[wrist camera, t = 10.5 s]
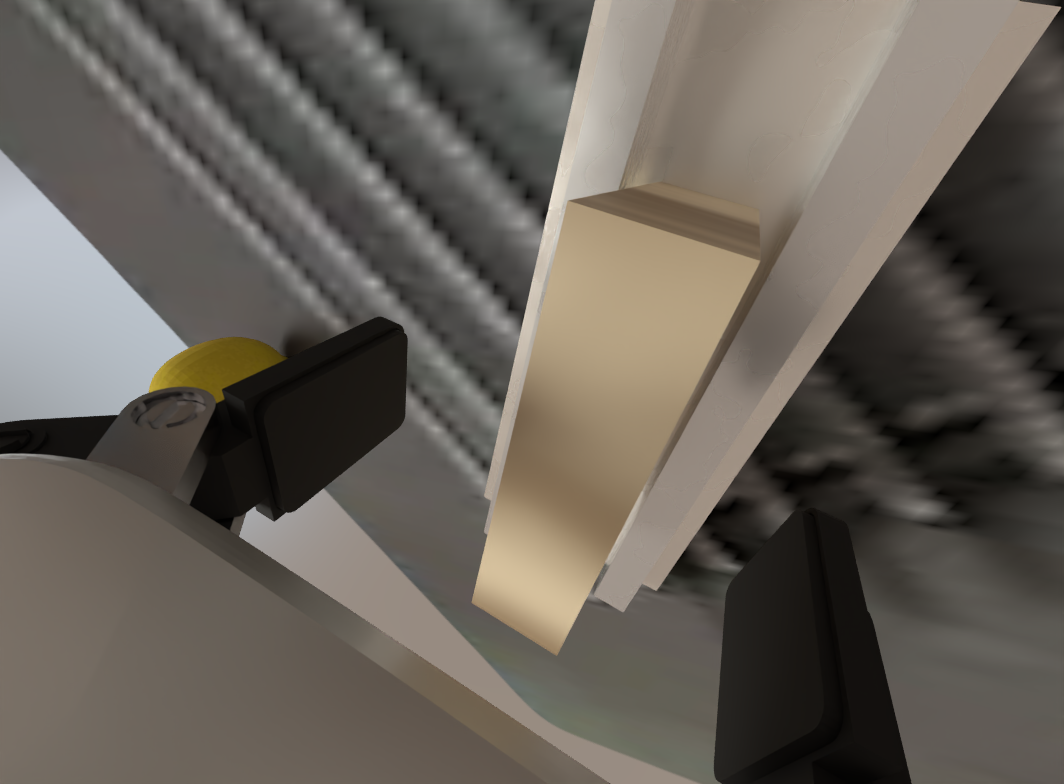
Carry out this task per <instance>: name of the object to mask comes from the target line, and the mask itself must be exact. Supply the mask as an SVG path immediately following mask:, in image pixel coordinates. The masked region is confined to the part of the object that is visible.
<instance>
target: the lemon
mask: <svg viewBox="0 0 1064 784" xmlns="http://www.w3.org/2000/svg"><path fill="white" fill-rule="evenodd" d="M286 359H288V358H287V357H284V356H282V355H280V354H279V352H277V351H276V350H275V349H273V348H272V347H271V346H269V345H267V344H265V343H263V342H260V341H258V340H254V339H249V338H243V337H227V338H220V339H216V340H211V341H207V342H204V343H200V344H198V345H195V346H193V347H191V348H188V349H187V350H185V351H183V352H181V353H179V354H178V355H176V356H174V357H173V358H171V359H170V360H169V361H167V362H166V363H165V364H164V365H163V366H162V367H161V368H160V369H159V370H158V371H157V373H156V374H155V375H154V377H153V379H152V382H151V384H150V388H149V393H150V392H153V391H155V390H160V389H165V388H170V387H183V386H185V387H196V388H200V389H203V390H206V391H208V392H209V393H210V394H212V395H213V396H214V398H215V400H216V403H218V402H220V401H222V400H224V396H223V392H222V389H223V388H225V387H228V386H230V385H232V384H234V383H236V382H238V381H240V380H243V379H245V378H247V377H249V376H251V375H253V374H256V373H258V372H260V371H262V370H264V369H266V368H268V367H271V366H273V365H275V364H277V363H279V362H281V361H283V360H286Z"/></svg>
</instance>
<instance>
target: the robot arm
mask: <svg viewBox="0 0 1064 784" xmlns="http://www.w3.org/2000/svg"><path fill="white" fill-rule="evenodd" d="M407 343H408V339H407V335H406V334H405V333H404V329H403V327H402V326H401V325H399V324H397V323H395V322H393V321H390V320H388V319H386V318H384V317H376V318H374V319H372V320H369V321H367V322H365V323H363V324H361V325H359V326H357V327H354V328H352V329H350V330H348V331H346V332H344V333H342V334H339V335H337V336H335V337H333V338H331V339H329V340H326V341H324V342H322V343H320V344H318V345H316V346H314V347H311V348H309V349H307V350H305V351H303V352H301V353H299V354H296V355H294V356H292V357H290V358H288V359H286V360H283V361H281V362H279V363H277V364H275V365H273V366H271V367H268V368H266V369H264V370H262V371H260V372H258V373H256V374H253V375H251V376H249V377H247V378H245V379H243V380H240V381H238V382H236V383H234V384H232V385H230V386H228V387H225V388H223V389H222V392H223V396H224V400H222V401H220V402H218V403H216V400H215V398H214V396H213V395H212V394H210V393H209V392H208V391H206V390H203V389H200V388H196V387H185V386H183V387H170V388H165V389H160V390H155V391H153V392H150V393H147V394H145V395H142V396H140V397H138V398H137V399H135V400H133V401H132V402H130V403H129V404H128V405H127V406H126V407H125V408H124V409H123V410H122V411H121V413H120V414H119V415H109V416H90V417H74V418H73V417H72V418H55V419H54V418H53V419H35V420H20V421H12V422H5V423H0V784H610V783H608V782H607V781H605V780H604V779H602V778H601V777H600V776H598V775H597V774H595V773H594V772H592V771H591V770H589V769H587V768H586V767H585V766H583V765H582V764H580V763H579V762H577V761H576V760H574V759H573V758H571V757H570V756H568V755H567V754H565V753H564V752H562V751H561V750H559V749H558V748H556V747H555V746H553V745H552V744H550V743H549V742H547V741H546V740H544V739H543V738H541V737H540V736H538V735H537V734H535V733H534V732H532V731H531V730H530V729H528V728H527V727H525V726H523V725H522V724H521V723H519V722H517V721H516V720H515V719H513V718H511V717H510V716H509V715H507V714H506V713H504V712H503V711H501V710H500V709H498V708H497V707H495V706H494V705H492V704H491V703H489V702H488V701H486V700H485V699H483V698H482V697H480V696H479V695H477V694H476V693H474V692H473V691H471V690H470V689H468V688H467V687H465V686H464V685H462V684H461V683H459V682H458V681H456V680H455V679H453V678H452V677H450V676H449V675H447V674H446V673H444V672H443V671H441V670H440V669H438V668H437V667H435V666H434V665H432V664H431V663H429V662H428V661H426V660H425V659H423V658H422V657H420V656H419V655H417V654H416V653H414V652H413V651H411V650H410V649H408V648H407V647H405V646H404V645H402V644H401V643H399V642H398V641H396V640H395V639H393V638H392V637H390V636H389V635H387V634H386V633H384V632H383V631H381V630H379V629H378V628H377V627H375V626H374V625H372V624H370V623H369V622H368V621H366V620H365V619H363V618H361V617H360V616H358V615H357V614H356V613H354V612H353V611H351V610H350V609H348V608H347V607H345V606H343V605H342V604H340V603H339V602H337V601H336V600H334V599H333V598H331V597H330V596H328V595H327V594H325V593H324V592H322V591H321V590H319V589H318V588H316V587H315V586H313V585H312V584H310V583H309V582H307V581H306V580H304V579H303V578H301V577H299V576H298V575H296V574H295V573H293V572H292V571H290V570H289V569H287V568H286V567H284V566H283V565H281V564H280V563H278V562H277V561H275V560H274V559H272V558H271V557H269V556H268V555H266V554H264V553H263V552H261V551H260V550H258V549H257V548H255V547H254V546H252V545H251V544H249V543H248V542H246V541H245V540H243V539H242V538H240V537H239V535H240V531H241V528H242V525H243V521H244V518H245V515H246V512H248V511H249V510H250V509H252V508H253V507H256V510H257V511H258V512H260V513H261V514H263V515H265V516H266V517H268V518H269V519H271V520H272V521H276V520H277V519H278V518H280V517H281V516H282V515H284V514H285V513H286V512H287V513H289V512H293V511H295V510H297V509H298V508H300V507H301V506H302V505H303V504H304V503H306V502H307V501H308V500H309V499H311V498H312V497H313V496H314V495H315V494H317V493H318V492H319V491H321V490H322V489H323V488H324V487H326V486H327V485H328V484H329V483H331V482H332V481H333V480H334V479H336V478H337V477H338V476H339V475H341V474H342V473H343V472H344V471H346V470H347V469H348V468H349V467H351V466H352V465H353V464H354V463H356V462H357V461H358V460H359V459H361V458H362V457H363V456H364V455H366V454H367V453H368V452H369V451H371V450H372V449H373V448H374V447H376V446H377V445H378V444H379V443H381V442H382V441H383V440H384V439H386V438H387V437H388V436H389V435H391V434H392V433H393V432H394V431H396V430H397V429H398V428H399V427H400V426H401V424H402V423H403V421H404V418H405V405H406V374H407ZM714 774H715V778H716V780H717V781H719V782H720V783H722V784H912V783H911V779H910V775H909V771H908V767H907V762H906V758H905V754H904V750H903V746H902V741H901V737H900V733H899V729H898V725H897V720H896V716H895V712H894V708H893V704H892V700H891V695H890V691H889V687H888V683H887V679H886V674H885V670H884V666H883V662H882V658H881V653H880V649H879V645H878V641H877V637H876V632H875V628H874V624H873V621H872V618H871V616H870V613H869V612H868V611H867V607H866V602H865V598H864V594H863V590H862V585H861V581H860V577H859V572H858V568H857V564H856V559H855V555H854V551H853V547H852V542H851V538H850V534H849V529H848V526H847V524H846V523H845V522H844V521H842V520H839V519H837V518H835V517H833V516H830V515H828V514H826V513H823V512H821V511H819V510H817V509H814V508H810V509H808V510H806V511H805V512H803V511H801V510H796V511H794V512H793V513H792V514H791V515H790V516H789V518H788V519H787V520H786V521H785V522H784V523H783V524H782V525H781V526H780V528H779V529H778V530H777V531H776V532H775V533H774V534H773V535H772V537H771V538H770V539H769V540H768V541H767V542H766V543H765V544H764V545H763V547H762V548H761V549H760V550H759V551H758V552H757V553H756V554H755V556H754V557H753V558H752V559H751V560H750V561H749V562H748V563H747V564H746V566H745V567H744V568H743V569H742V570H741V571H740V572H739V573H738V574H737V576H736V577H735V578H734V579H733V580H732V581H731V583H730V585H729V587H728V590H727V593H726V600H725V614H724V628H723V643H722V657H721V671H720V685H719V699H718V714H717V728H716V742H715V756H714Z"/></svg>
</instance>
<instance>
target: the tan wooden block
mask: <svg viewBox="0 0 1064 784" xmlns="http://www.w3.org/2000/svg"><path fill="white" fill-rule="evenodd" d="M760 261H761V256H760V223H759V209H756V208H752V207H748V206H745V205H741V204H738V203H734V202H731V201H727V200H724V199H720V198H717V197H713V196H710V195H706V194H703V193H699V192H696V191H692V190H688V189H685V188H681V187H678V186H674V185H671V184H667V183H664V182H656V183H651V184H646V185H641V186H636V187H631V188H626V189H621V190H617V191H612V192H607V193H602V194H597V195H592V196H587V197H583V198H578V199H573V200H568V201H567V205H566V210H565V214H564V218H563V222H562V226H561V231H560V235H559V239H558V243H557V247H556V251H555V256H554V260H553V264H552V268H551V272H550V277H549V281H548V285H547V289H546V293H545V298H544V302H543V306H542V310H541V314H540V318H539V323H538V327H537V331H536V335H535V339H534V344H533V348H532V352H531V356H530V360H529V365H528V369H527V373H526V377H525V381H524V385H523V390H522V394H521V398H520V402H519V406H518V411H517V415H516V419H515V423H514V427H513V432H512V436H511V440H510V444H509V448H508V452H507V457H506V461H505V465H504V469H503V473H502V478H501V482H500V486H499V490H498V494H497V499H496V503H495V507H494V511H493V515H492V519H491V524H490V528H489V532H488V536H487V540H486V545H485V549H484V553H483V557H482V561H481V566H480V570H479V574H478V578H477V582H476V586H475V591H474V595H473V599H472V603H473V604H475V605H476V606H478V607H479V608H481V609H483V610H484V611H486V612H488V613H489V614H491V615H492V616H494V617H496V618H497V619H499V620H500V621H502V622H504V623H505V624H507V625H508V626H510V627H512V628H513V629H515V630H516V631H518V632H520V633H521V634H523V635H524V636H526V637H528V638H529V639H531V640H532V641H534V642H536V643H537V644H539V645H541V646H542V647H544V648H545V649H547V650H549V651H550V652H552V653H553V654H555V655H557V654H558V652H559V650H560V648H561V646H562V644H563V642H564V640H565V639H566V637H567V635H568V633H569V631H570V629H571V627H572V625H573V623H574V621H575V619H576V617H577V615H578V613H579V611H580V610H581V608H582V606H583V604H584V602H585V600H586V598H587V596H588V594H589V592H590V590H591V588H592V586H593V584H594V582H595V581H596V579H597V577H598V575H599V573H600V571H601V569H602V567H603V565H604V563H605V561H606V559H607V557H608V555H609V553H610V552H611V550H612V548H613V546H614V544H615V542H616V540H617V538H618V536H619V534H620V532H621V530H622V528H623V526H624V524H625V522H626V521H627V519H628V517H629V515H630V513H631V511H632V509H633V507H634V505H635V503H636V501H637V499H638V497H639V495H640V493H641V492H642V490H643V488H644V486H645V484H646V482H647V480H648V478H649V476H650V474H651V472H652V470H653V468H654V466H655V464H656V463H657V461H658V459H659V457H660V455H661V453H662V451H663V449H664V447H665V445H666V443H667V441H668V439H669V437H670V435H671V434H672V432H673V430H674V428H675V426H676V424H677V422H678V420H679V418H680V416H681V414H682V412H683V410H684V408H685V406H686V405H687V403H688V401H689V399H690V397H691V395H692V393H693V391H694V389H695V387H696V385H697V383H698V381H699V379H700V377H701V375H702V374H703V372H704V370H705V368H706V366H707V364H708V362H709V360H710V358H711V356H712V354H713V352H714V350H715V348H716V346H717V345H718V343H719V341H720V339H721V337H722V335H723V333H724V331H725V329H726V327H727V325H728V323H729V321H730V319H731V317H732V316H733V314H734V312H735V310H736V308H737V306H738V304H739V302H740V300H741V298H742V296H743V294H744V292H745V290H746V288H747V287H748V285H749V283H750V281H751V279H752V277H753V275H754V273H755V271H756V269H757V267H758V265H759V263H760Z"/></svg>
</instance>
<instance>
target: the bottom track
mask: <svg viewBox="0 0 1064 784" xmlns="http://www.w3.org/2000/svg"><path fill="white" fill-rule="evenodd" d="M1060 8H1061V7H1057V6H1050V5H1043V4H1036V3H1029V2H1023V1H1020V0H595V4H594V8H593V13H592V17H591V22H590V26H589V31H588V35H587V40H586V44H585V49H584V53H583V57H582V62H581V66H580V71H579V75H578V80H577V84H576V89H575V93H574V98H573V102H572V107H571V111H570V115H569V120H568V124H567V129H566V133H565V138H564V142H563V147H562V151H561V156H560V160H559V164H558V169H557V173H556V178H555V182H554V187H553V191H552V196H551V200H550V205H549V209H548V214H547V218H546V222H545V227H544V231H543V236H542V240H541V245H540V249H539V254H538V258H537V263H536V267H535V272H534V276H533V280H532V285H531V289H530V294H529V298H528V303H527V307H526V312H525V316H524V321H523V325H522V330H521V334H520V338H519V343H518V347H517V352H516V356H515V361H514V365H513V370H512V374H511V379H510V383H509V388H508V392H507V396H506V401H505V405H504V410H503V414H502V419H501V423H500V428H499V432H498V437H497V441H496V445H495V450H494V454H493V459H492V463H491V468H490V472H489V477H488V481H487V486H486V490H485V495H484V497H486V498H488V499H490V500H491V505H490V509H489V513H488V517H487V521H486V526H485V530H484V533H486V534H488V532H489V528H490V524H491V519H492V515H493V511H494V507H495V503H496V499H497V494H498V490H499V486H500V482H501V478H502V473H503V469H504V465H505V461H506V457H507V452H508V448H509V444H510V440H511V436H512V432H513V427H514V423H515V419H516V415H517V411H518V406H519V402H520V398H521V394H522V390H523V385H524V381H525V377H526V373H527V369H528V365H529V360H530V356H531V352H532V348H533V344H534V339H535V335H536V331H537V327H538V323H539V318H540V314H541V310H542V306H543V302H544V298H545V293H546V289H547V285H548V281H549V277H550V272H551V268H552V264H553V260H554V256H555V251H556V247H557V243H558V239H559V235H560V231H561V226H562V222H563V218H564V214H565V210H566V205H567V201H568V200H573V199H578V198H583V197H587V196H592V195H597V194H602V193H607V192H612V191H617V190H621V189H626V188H631V187H636V186H641V185H646V184H651V183H656V182H664V183H667V184H671V185H674V186H678V187H681V188H685V189H688V190H692V191H696V192H699V193H703V194H706V195H710V196H713V197H717V198H720V199H724V200H727V201H731V202H734V203H738V204H741V205H745V206H748V207H752V208H756V209H759V223H760V256H761V261H760V263H759V265H758V267H757V269H756V271H755V273H754V275H753V277H752V279H751V281H750V283H749V285H748V287H747V288H746V290H745V292H744V294H743V296H742V298H741V300H740V302H739V304H738V306H737V308H736V310H735V312H734V314H733V316H732V317H731V319H730V321H729V323H728V325H727V327H726V329H725V331H724V333H723V335H722V337H721V339H720V341H719V343H718V345H717V346H716V348H715V350H714V352H713V354H712V356H711V358H710V360H709V362H708V364H707V366H706V368H705V370H704V372H703V374H702V375H701V377H700V379H699V381H698V383H697V385H696V387H695V389H694V391H693V393H692V395H691V397H690V399H689V401H688V403H687V405H686V406H685V408H684V410H683V412H682V414H681V416H680V418H679V420H678V422H677V424H676V426H675V428H674V430H673V432H672V434H671V435H670V437H669V439H668V441H667V443H666V445H665V447H664V449H663V451H662V453H661V455H660V457H659V459H658V461H657V463H656V464H655V466H654V468H653V470H652V472H651V474H650V476H649V478H648V480H647V482H646V484H645V486H644V488H643V490H642V492H641V493H640V495H639V497H638V499H637V501H636V503H635V505H634V507H633V509H632V511H631V513H630V515H629V517H628V519H627V521H626V522H625V524H624V526H623V528H622V530H621V532H620V534H619V536H618V538H617V540H616V542H615V544H614V546H613V548H612V550H611V552H610V553H609V555H608V557H607V559H606V561H605V563H606V564H605V567H604V569H603V572H602V575H601V577H600V580H599V583H598V585H597V588H596V591H595V593H594V596H596V597H598V598H599V599H601V600H603V601H604V602H606V603H608V604H610V605H611V606H613V607H615V608H617V609H618V610H620V611H622V612H624V610H625V609H626V607H627V606H628V604H629V603H630V601H631V600H632V598H633V597H634V595H635V594H636V592H637V590H638V589H639V587H640V586H641V584H642V583H643V584H645V585H646V586H648V587H650V588H652V589H654V590H655V591H657V589H658V588H659V586H660V585H661V583H662V582H663V580H664V579H665V578H666V576H667V575H668V573H669V572H670V570H671V569H672V567H673V566H674V565H675V563H676V562H677V560H678V559H679V557H680V556H681V555H682V553H683V552H684V550H685V549H686V547H687V546H688V544H689V543H690V542H691V540H692V539H693V537H694V536H695V534H696V533H697V531H698V530H699V529H700V527H701V526H702V524H703V523H704V521H705V520H706V519H707V517H708V516H709V514H710V513H711V511H712V510H713V508H714V507H715V506H716V504H717V503H718V501H719V500H720V498H721V497H722V495H723V494H724V493H725V491H726V490H727V488H728V487H729V485H730V484H731V482H732V481H733V480H734V478H735V477H736V475H737V474H738V472H739V471H740V470H741V468H742V467H743V465H744V464H745V462H746V461H747V459H748V458H749V457H750V455H751V454H752V452H753V451H754V449H755V448H756V446H757V445H758V444H759V442H760V441H761V439H762V438H763V436H764V435H765V433H766V432H767V431H768V429H769V428H770V426H771V425H772V423H773V422H774V421H775V419H776V418H777V416H778V415H779V413H780V412H781V410H782V409H783V408H784V406H785V405H786V403H787V402H788V400H789V399H790V397H791V396H792V395H793V393H794V392H795V390H796V389H797V387H798V386H799V385H800V383H801V382H802V380H803V379H804V377H805V376H806V374H807V373H808V372H809V370H810V369H811V367H812V366H813V364H814V363H815V361H816V360H817V359H818V357H819V356H820V354H821V353H822V351H823V350H824V348H825V347H826V346H827V344H828V343H829V341H830V340H831V338H832V337H833V336H834V334H835V333H836V331H837V330H838V328H839V327H840V325H841V324H842V323H843V321H844V320H845V318H846V317H847V315H848V314H849V312H850V311H851V310H852V308H853V307H854V305H855V304H856V302H857V301H858V299H859V298H860V297H861V295H862V294H863V292H864V291H865V289H866V288H867V287H868V285H869V284H870V282H871V281H872V279H873V278H874V276H875V275H876V274H877V272H878V271H879V269H880V268H881V266H882V265H883V263H884V262H885V261H886V259H887V258H888V256H889V255H890V253H891V252H892V251H893V249H894V248H895V246H896V245H897V243H898V242H899V240H900V239H901V238H902V236H903V235H904V233H905V232H906V230H907V229H908V227H909V226H910V225H911V223H912V222H913V220H914V219H915V217H916V216H917V214H918V213H919V212H920V210H921V209H922V207H923V206H924V204H925V203H926V202H927V200H928V199H929V197H930V196H931V194H932V193H933V191H934V190H935V189H936V187H937V186H938V184H939V183H940V181H941V180H942V178H943V177H944V176H945V174H946V173H947V171H948V170H949V168H950V167H951V166H952V164H953V163H954V161H955V160H956V158H957V157H958V155H959V154H960V153H961V151H962V150H963V148H964V147H965V145H966V144H967V142H968V141H969V140H970V138H971V137H972V135H973V134H974V132H975V131H976V129H977V128H978V127H979V125H980V124H981V122H982V121H983V119H984V118H985V117H986V115H987V114H988V112H989V111H990V109H991V108H992V106H993V105H994V104H995V102H996V101H997V99H998V98H999V96H1000V95H1001V93H1002V92H1003V91H1004V89H1005V88H1006V86H1007V85H1008V83H1009V82H1010V80H1011V79H1012V78H1013V76H1014V75H1015V73H1016V72H1017V70H1018V69H1019V68H1020V66H1021V65H1022V63H1023V62H1024V60H1025V59H1026V57H1027V56H1028V55H1029V53H1030V52H1031V50H1032V49H1033V47H1034V46H1035V44H1036V43H1037V42H1038V40H1039V39H1040V37H1041V36H1042V34H1043V33H1044V32H1045V30H1046V29H1047V27H1048V26H1049V24H1050V23H1051V21H1052V20H1053V19H1054V17H1055V16H1056V14H1057V13H1058V11H1059V10H1060Z"/></svg>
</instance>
